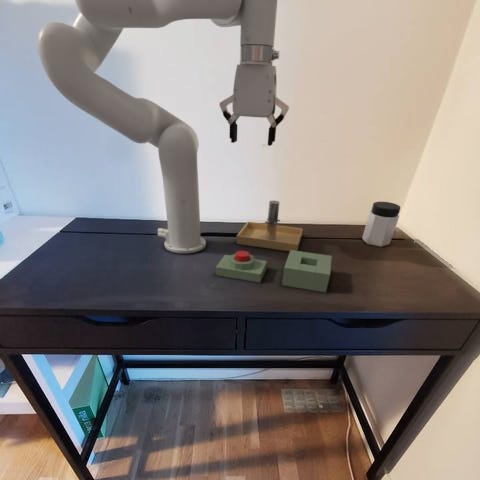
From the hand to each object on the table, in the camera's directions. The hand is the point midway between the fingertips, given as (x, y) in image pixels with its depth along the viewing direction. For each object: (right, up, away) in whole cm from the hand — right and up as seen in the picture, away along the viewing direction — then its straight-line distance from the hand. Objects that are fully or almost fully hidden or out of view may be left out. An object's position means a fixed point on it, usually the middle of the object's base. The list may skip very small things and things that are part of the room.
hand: (251, 143), depth 81 cm
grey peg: (+7, -19, +22) cm, 30 cm away
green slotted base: (+14, -35, +1) cm, 38 cm away
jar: (+43, -20, +24) cm, 53 cm away
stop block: (-3, -33, +3) cm, 33 cm away
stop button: (-3, -30, +1) cm, 30 cm away
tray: (+7, -19, +22) cm, 30 cm away
